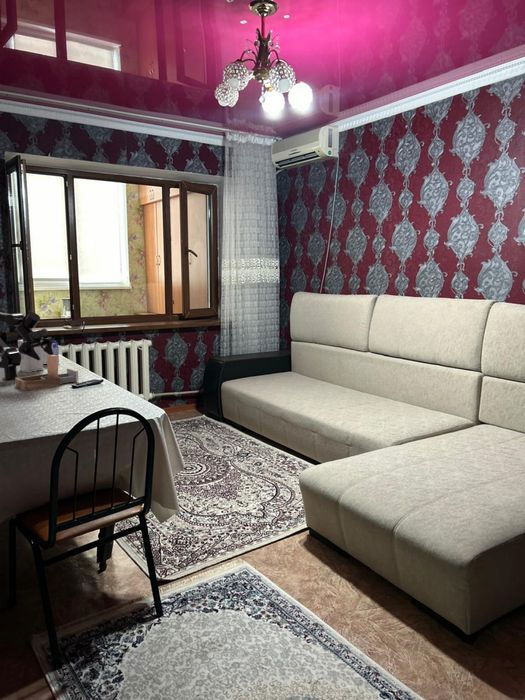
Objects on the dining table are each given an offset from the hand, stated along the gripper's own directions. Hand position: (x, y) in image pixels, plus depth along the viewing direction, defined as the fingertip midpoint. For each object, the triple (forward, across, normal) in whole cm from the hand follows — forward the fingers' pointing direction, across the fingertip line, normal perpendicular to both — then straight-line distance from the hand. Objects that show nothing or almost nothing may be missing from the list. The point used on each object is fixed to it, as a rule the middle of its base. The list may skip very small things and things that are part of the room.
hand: (46, 358), depth 266 cm
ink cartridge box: (-15, +37, +33) cm, 52 cm away
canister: (+10, 0, +6) cm, 11 cm away
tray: (+12, +2, +6) cm, 13 cm away
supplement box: (-12, +20, +31) cm, 39 cm away
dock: (+9, -7, +9) cm, 14 cm away
